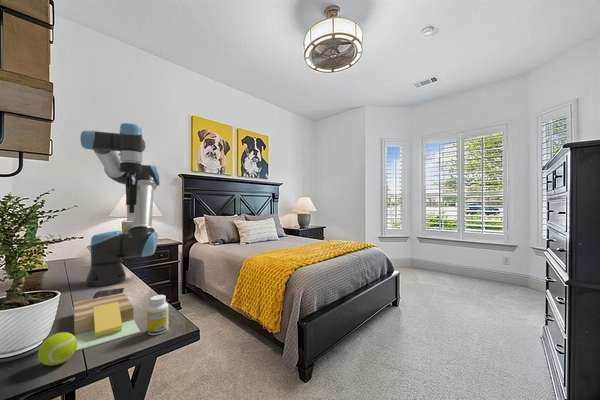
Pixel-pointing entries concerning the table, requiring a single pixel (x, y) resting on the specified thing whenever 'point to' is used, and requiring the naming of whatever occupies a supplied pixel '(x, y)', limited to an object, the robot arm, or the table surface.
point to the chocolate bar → (108, 292)
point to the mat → (105, 336)
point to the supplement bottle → (157, 315)
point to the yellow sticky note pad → (107, 319)
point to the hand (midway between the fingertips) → (131, 220)
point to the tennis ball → (57, 349)
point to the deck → (85, 308)
